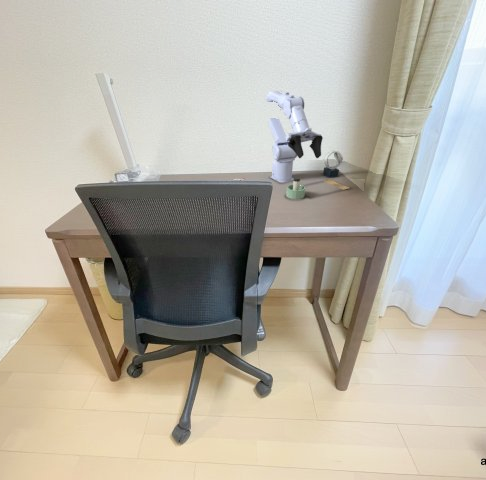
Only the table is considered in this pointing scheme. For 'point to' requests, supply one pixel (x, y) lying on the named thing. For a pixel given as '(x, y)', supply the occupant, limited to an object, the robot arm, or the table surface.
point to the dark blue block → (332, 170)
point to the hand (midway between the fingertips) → (310, 156)
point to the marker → (296, 183)
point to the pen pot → (295, 192)
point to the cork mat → (337, 184)
